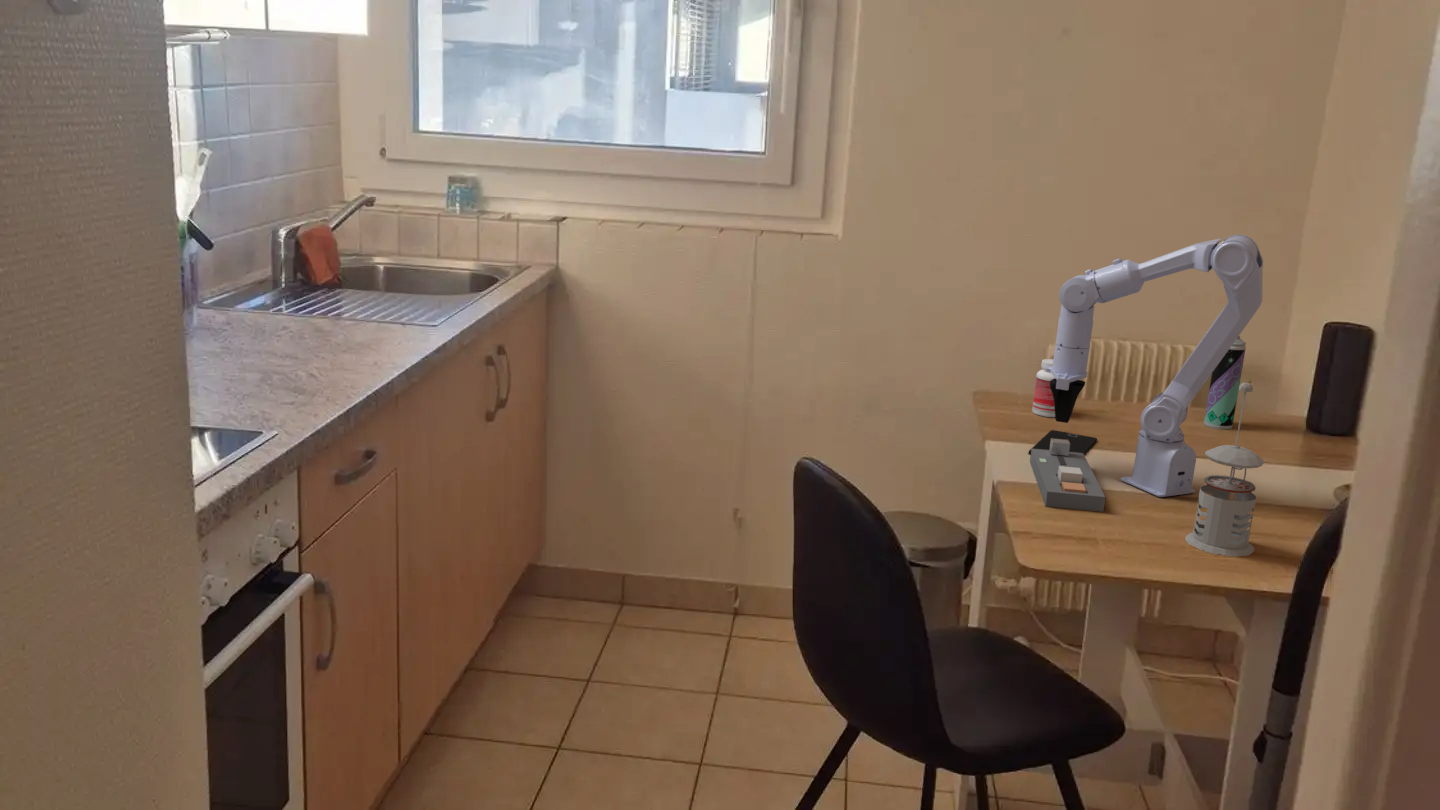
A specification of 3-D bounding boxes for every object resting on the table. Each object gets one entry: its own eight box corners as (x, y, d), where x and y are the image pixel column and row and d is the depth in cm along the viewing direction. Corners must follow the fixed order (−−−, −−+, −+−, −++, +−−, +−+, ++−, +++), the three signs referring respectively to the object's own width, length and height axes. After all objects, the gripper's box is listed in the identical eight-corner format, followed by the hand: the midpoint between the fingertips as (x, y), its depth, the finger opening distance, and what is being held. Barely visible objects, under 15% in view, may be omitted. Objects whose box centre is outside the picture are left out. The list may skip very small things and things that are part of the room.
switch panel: (1103, 511, 199) (1105, 496, 198) (1045, 506, 200) (1047, 490, 199) (1081, 466, 222) (1083, 452, 221) (1029, 461, 223) (1031, 448, 222)
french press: (1177, 544, 186) (1203, 382, 180) (1196, 524, 196) (1222, 369, 189) (1246, 561, 181) (1276, 395, 175) (1263, 539, 191) (1291, 381, 184)
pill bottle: (1062, 419, 253) (1069, 366, 250) (1031, 415, 254) (1037, 362, 251) (1062, 412, 258) (1069, 360, 255) (1032, 408, 260) (1038, 356, 257)
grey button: (1080, 488, 205) (1082, 474, 204) (1059, 486, 205) (1061, 472, 205) (1077, 481, 208) (1079, 468, 208) (1057, 479, 209) (1058, 466, 208)
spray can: (1197, 423, 256) (1213, 327, 251) (1217, 421, 258) (1233, 326, 253) (1218, 430, 251) (1234, 332, 246) (1238, 428, 253) (1254, 331, 248)
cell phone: (1097, 442, 239) (1097, 437, 239) (1076, 465, 224) (1076, 460, 223) (1051, 434, 243) (1051, 429, 243) (1027, 456, 228) (1027, 451, 227)
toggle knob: (1068, 455, 219) (1070, 443, 218) (1051, 454, 219) (1052, 442, 218) (1066, 451, 221) (1068, 439, 220) (1049, 450, 221) (1050, 438, 221)
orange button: (1084, 504, 200) (1086, 490, 200) (1062, 502, 201) (1064, 488, 200) (1081, 497, 204) (1083, 483, 203) (1059, 495, 204) (1061, 481, 203)
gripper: (1055, 335, 223) (1045, 408, 226) (1042, 349, 210) (1032, 427, 213) (1095, 340, 220) (1085, 414, 224) (1085, 355, 207) (1074, 434, 211)
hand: (1062, 421), depth 219 cm, fingers closed
